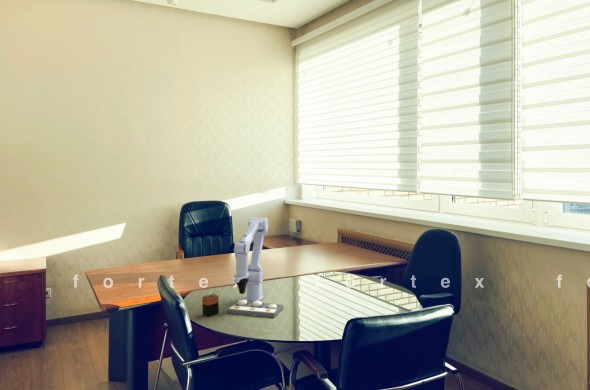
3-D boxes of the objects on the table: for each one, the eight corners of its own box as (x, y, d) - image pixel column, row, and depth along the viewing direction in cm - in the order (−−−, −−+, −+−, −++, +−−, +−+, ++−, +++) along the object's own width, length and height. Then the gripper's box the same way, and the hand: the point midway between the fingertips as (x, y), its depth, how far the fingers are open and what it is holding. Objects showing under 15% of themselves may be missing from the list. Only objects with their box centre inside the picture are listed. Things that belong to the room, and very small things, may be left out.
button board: (239, 304, 245) (238, 300, 245) (283, 308, 239) (283, 304, 238) (227, 313, 232) (227, 308, 232) (274, 317, 225) (274, 312, 225)
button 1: (240, 303, 242) (240, 299, 242) (248, 304, 241) (248, 300, 241) (236, 306, 238) (236, 301, 238) (244, 307, 237) (244, 302, 237)
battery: (202, 315, 229) (201, 294, 229) (213, 312, 234) (213, 292, 233) (207, 317, 226) (207, 296, 226) (219, 314, 231) (218, 293, 230)
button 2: (254, 305, 240) (254, 300, 240) (263, 306, 239) (263, 301, 238) (251, 307, 236) (251, 303, 235) (259, 308, 234) (259, 303, 234)
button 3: (269, 308, 238) (269, 303, 237) (278, 309, 236) (278, 304, 236) (266, 311, 233) (266, 306, 233) (275, 312, 232) (275, 307, 232)
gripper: (240, 263, 246) (240, 289, 247) (228, 269, 232) (228, 296, 233) (252, 263, 244) (253, 290, 245) (241, 270, 230) (242, 297, 231)
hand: (242, 293), depth 239 cm, fingers closed
